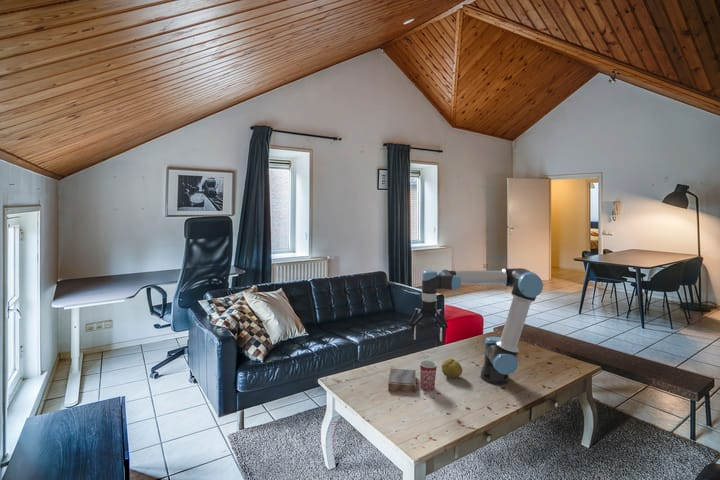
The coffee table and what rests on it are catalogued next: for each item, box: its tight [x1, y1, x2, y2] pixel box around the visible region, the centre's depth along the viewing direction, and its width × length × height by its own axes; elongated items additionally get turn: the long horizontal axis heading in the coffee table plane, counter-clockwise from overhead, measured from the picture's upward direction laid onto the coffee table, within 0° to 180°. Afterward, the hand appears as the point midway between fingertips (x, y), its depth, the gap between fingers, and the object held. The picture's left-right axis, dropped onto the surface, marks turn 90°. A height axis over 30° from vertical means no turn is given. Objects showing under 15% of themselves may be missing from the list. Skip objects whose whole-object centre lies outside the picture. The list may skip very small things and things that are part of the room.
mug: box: [419, 359, 438, 392], centre depth 205 cm, size 13×9×14 cm
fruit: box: [441, 358, 463, 379], centre depth 216 cm, size 11×12×10 cm
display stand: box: [387, 368, 416, 394], centre depth 208 cm, size 14×18×4 cm
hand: (427, 339), depth 203 cm, fingers open, 13 cm apart
